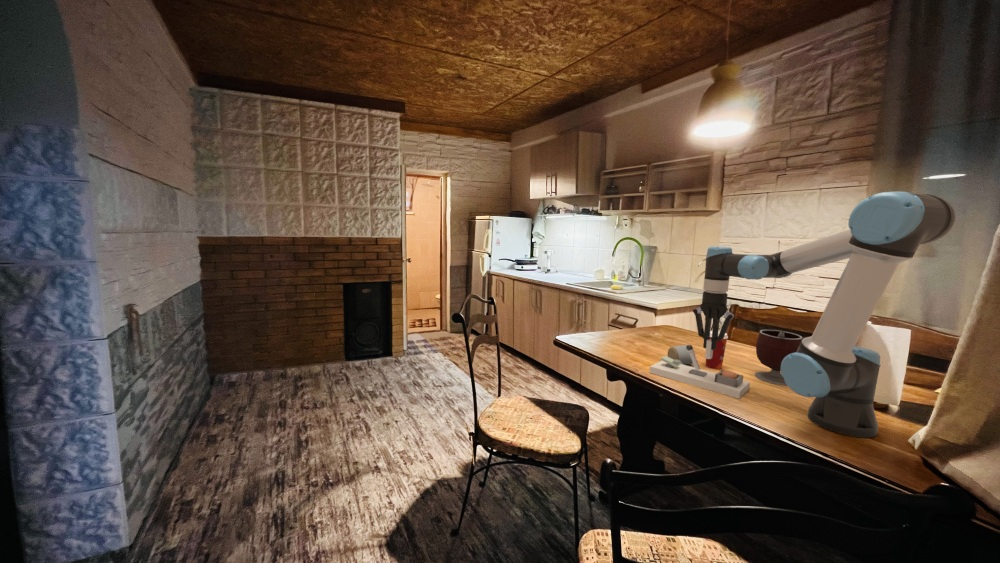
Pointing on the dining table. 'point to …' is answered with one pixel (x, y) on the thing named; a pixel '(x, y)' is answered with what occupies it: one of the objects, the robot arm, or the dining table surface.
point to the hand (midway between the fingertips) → (708, 357)
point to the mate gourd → (775, 353)
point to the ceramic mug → (680, 354)
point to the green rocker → (671, 361)
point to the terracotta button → (729, 374)
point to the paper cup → (717, 353)
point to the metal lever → (693, 356)
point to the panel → (702, 379)
